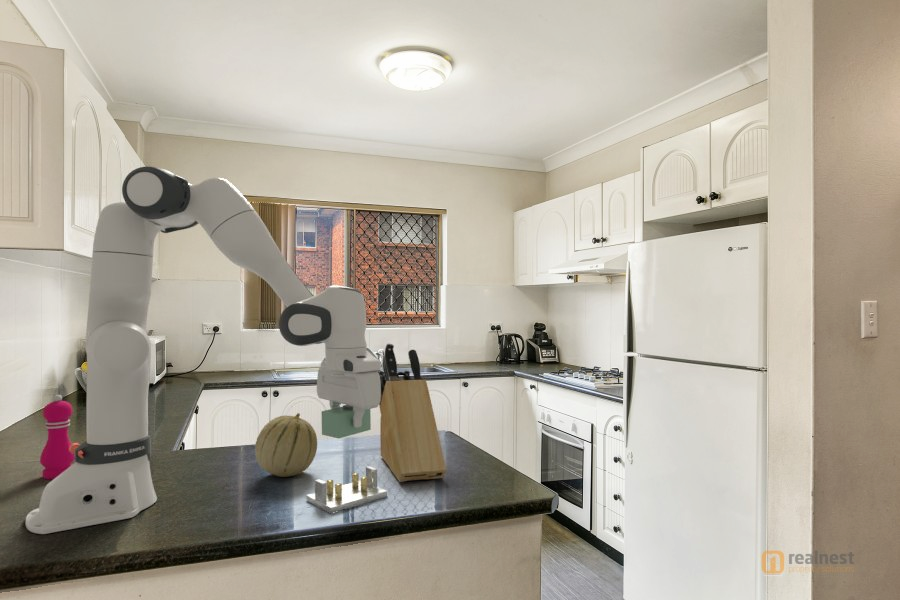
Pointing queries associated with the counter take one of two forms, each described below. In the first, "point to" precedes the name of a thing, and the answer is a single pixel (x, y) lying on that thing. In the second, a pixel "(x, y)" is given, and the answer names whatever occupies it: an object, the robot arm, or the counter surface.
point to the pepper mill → (57, 438)
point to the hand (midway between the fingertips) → (347, 424)
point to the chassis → (346, 492)
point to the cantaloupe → (286, 446)
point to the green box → (343, 422)
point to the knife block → (408, 423)
